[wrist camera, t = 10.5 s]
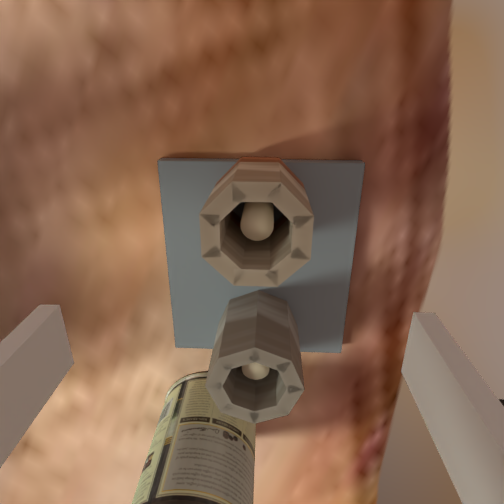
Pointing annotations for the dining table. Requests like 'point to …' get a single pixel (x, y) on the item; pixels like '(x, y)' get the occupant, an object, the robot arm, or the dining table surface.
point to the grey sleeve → (256, 359)
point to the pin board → (299, 288)
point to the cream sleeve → (249, 251)
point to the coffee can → (198, 451)
